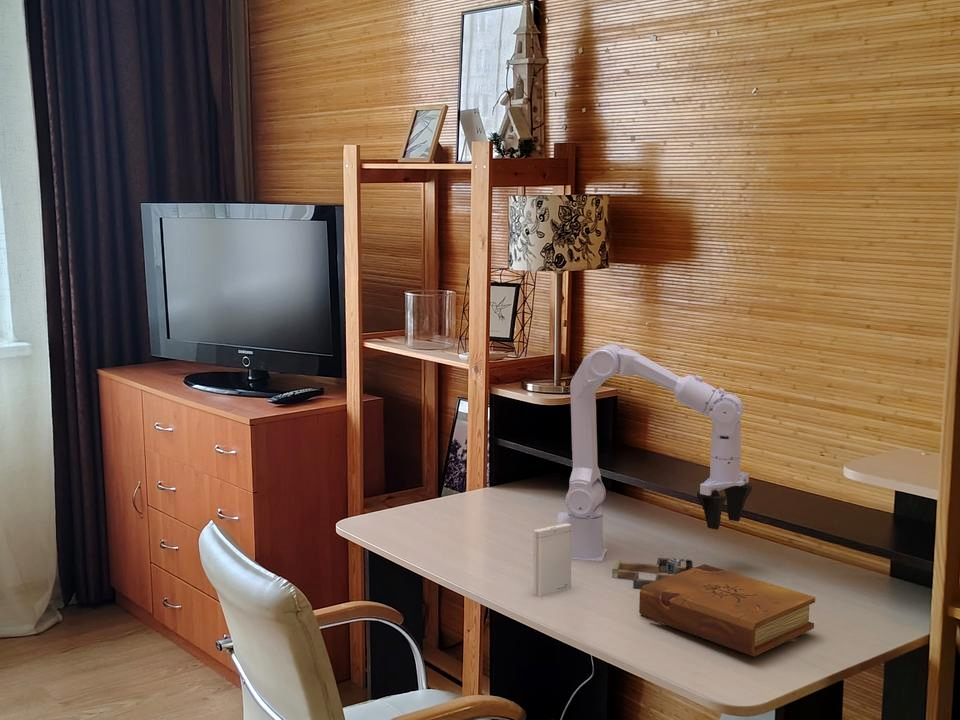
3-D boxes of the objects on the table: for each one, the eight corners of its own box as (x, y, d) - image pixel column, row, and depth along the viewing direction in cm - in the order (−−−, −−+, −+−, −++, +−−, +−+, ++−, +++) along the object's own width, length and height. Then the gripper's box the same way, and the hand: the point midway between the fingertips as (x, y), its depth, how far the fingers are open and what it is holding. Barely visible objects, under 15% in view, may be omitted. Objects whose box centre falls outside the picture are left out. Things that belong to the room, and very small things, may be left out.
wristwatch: (665, 582, 205) (665, 557, 204) (688, 578, 207) (688, 554, 206) (673, 587, 202) (674, 561, 201) (696, 583, 204) (697, 558, 203)
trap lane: (609, 586, 200) (609, 576, 200) (618, 562, 215) (618, 552, 214) (706, 594, 196) (706, 583, 196) (708, 568, 210) (709, 558, 210)
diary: (639, 618, 185) (639, 586, 184) (703, 593, 197) (704, 564, 197) (751, 658, 168) (752, 623, 167) (814, 628, 181) (815, 595, 180)
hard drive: (572, 589, 199) (572, 524, 197) (537, 597, 194) (538, 532, 193) (566, 586, 200) (566, 522, 199) (532, 595, 195) (532, 530, 194)
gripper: (723, 465, 197) (721, 536, 199) (763, 453, 207) (761, 520, 209) (691, 459, 202) (689, 528, 204) (731, 448, 212) (729, 514, 214)
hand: (723, 524), depth 207 cm, fingers open, 7 cm apart
